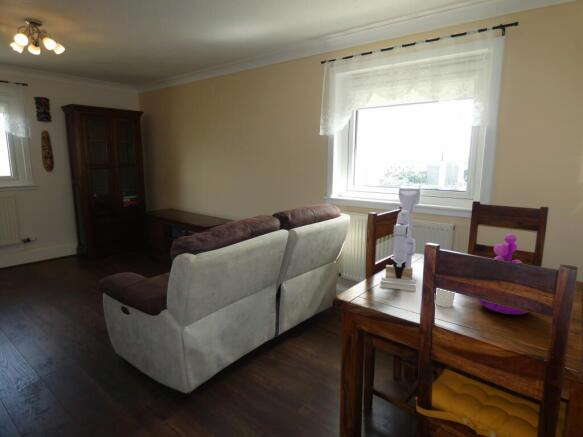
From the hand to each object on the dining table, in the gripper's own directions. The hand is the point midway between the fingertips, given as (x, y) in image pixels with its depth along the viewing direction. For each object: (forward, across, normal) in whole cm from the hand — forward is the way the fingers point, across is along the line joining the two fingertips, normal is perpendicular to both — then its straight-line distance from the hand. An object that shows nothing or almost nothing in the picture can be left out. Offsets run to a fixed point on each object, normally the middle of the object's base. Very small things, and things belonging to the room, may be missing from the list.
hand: (398, 277), depth 162 cm
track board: (+2, +8, 0) cm, 8 cm away
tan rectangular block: (+2, 0, 0) cm, 2 cm away
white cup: (+2, +22, +18) cm, 29 cm away
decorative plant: (+2, +20, +39) cm, 44 cm away
